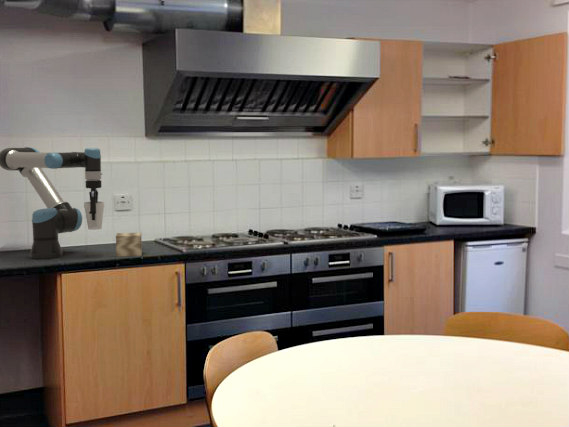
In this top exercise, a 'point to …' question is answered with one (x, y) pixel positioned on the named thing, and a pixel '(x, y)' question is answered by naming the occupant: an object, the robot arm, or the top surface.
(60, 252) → the robot arm
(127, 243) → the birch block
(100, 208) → the foam cup
